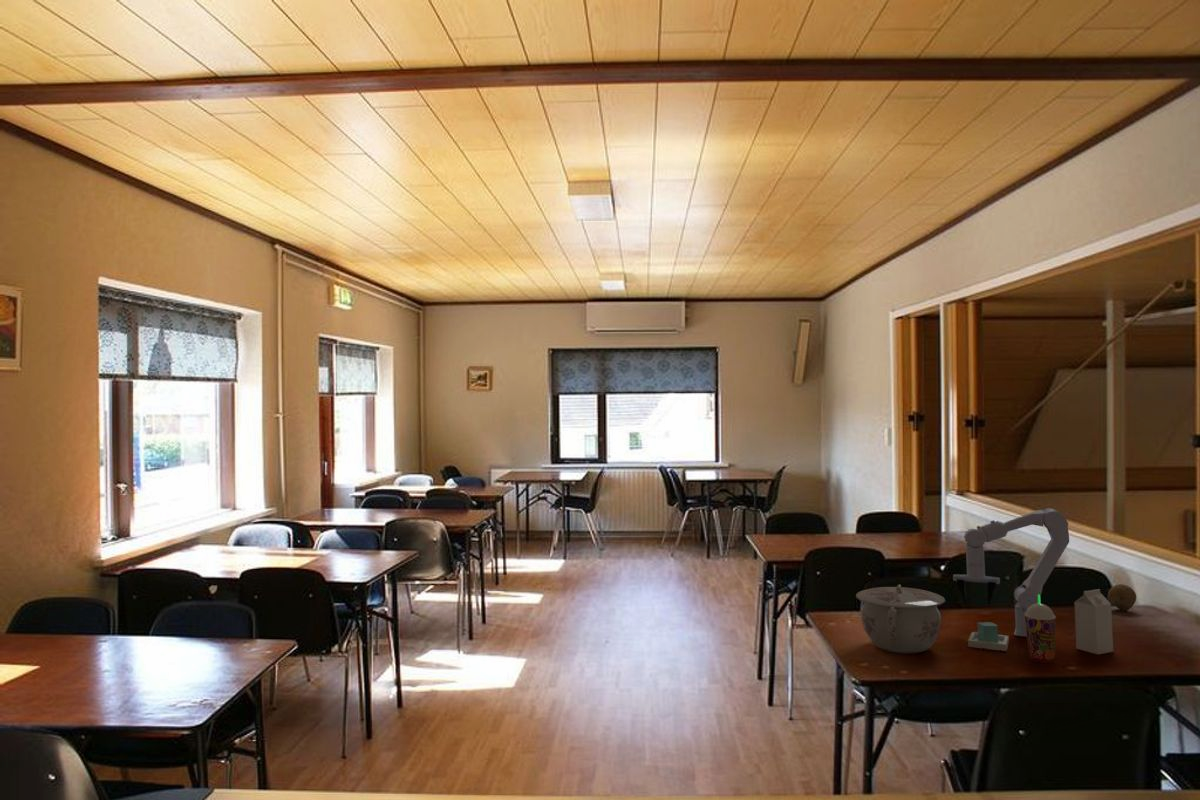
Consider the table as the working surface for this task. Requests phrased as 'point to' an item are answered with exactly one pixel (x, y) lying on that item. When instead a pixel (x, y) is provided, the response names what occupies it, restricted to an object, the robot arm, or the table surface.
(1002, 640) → the tray
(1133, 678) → the table surface
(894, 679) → the table surface
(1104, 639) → the milk carton
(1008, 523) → the robot arm
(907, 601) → the chamber pot
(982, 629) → the block
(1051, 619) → the smoothie
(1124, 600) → the brown coconut
